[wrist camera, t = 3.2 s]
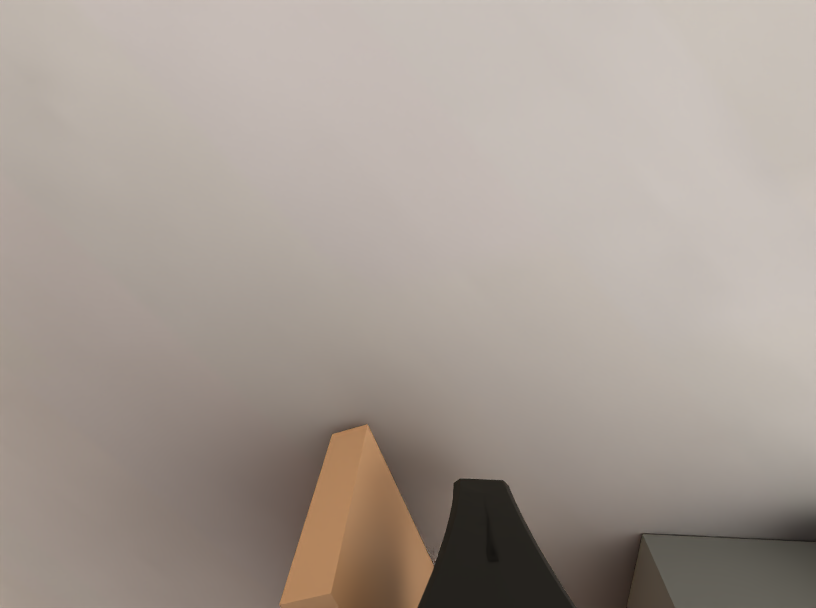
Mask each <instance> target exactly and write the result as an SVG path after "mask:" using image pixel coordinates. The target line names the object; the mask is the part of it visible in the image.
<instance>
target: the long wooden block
mask: <svg viewBox="0 0 816 608" xmlns="http://www.w3.org/2000/svg"><path fill="white" fill-rule="evenodd" d="M433 568H434V565H433V563H432V561H431V559H430V557H429V554H428V552H427V550H426V548H425V546H424V544H423V542H422V539H421V537H420V535H419V533H418V531H417V529H416V527H415V524H414V522H413V520H412V518H411V516H410V514H409V512H408V509H407V507H406V505H405V503H404V501H403V499H402V497H401V494H400V492H399V490H398V488H397V486H396V484H395V482H394V479H393V477H392V475H391V473H390V471H389V469H388V467H387V464H386V462H385V460H384V458H383V456H382V454H381V452H380V449H379V447H378V445H377V443H376V441H375V439H374V437H373V434H372V432H371V430H370V428H369V426H368V424H366V425H363V426H359V427H356V428H352V429H349V430H345V431H342V432H338V433H335V434H332V437H331V440H330V443H329V446H328V450H327V453H326V456H325V459H324V462H323V466H322V469H321V472H320V475H319V478H318V482H317V485H316V488H315V491H314V495H313V498H312V501H311V504H310V507H309V511H308V514H307V517H306V520H305V523H304V527H303V530H302V533H301V536H300V540H299V543H298V546H297V549H296V552H295V556H294V559H293V562H292V565H291V569H290V572H289V575H288V578H287V581H286V585H285V588H284V591H283V594H282V597H281V601H280V604H279V605H280V607H281V608H417V607H418V605H419V602H420V600H421V598H422V595H423V593H424V590H425V588H426V586H427V583H428V581H429V578H430V576H431V574H432V571H433Z"/></svg>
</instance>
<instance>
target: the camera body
mask: <svg viewBox="0 0 816 608" xmlns="http://www.w3.org/2000/svg"><path fill="white" fill-rule="evenodd" d="M627 608H816V542H802V541H780V540H759V539H738V538H716V537H695V536H674V535H652V534H643V535H642V539H641V544H640V548H639V553H638V558H637V562H636V567H635V571H634V576H633V580H632V585H631V590H630V594H629V599H628V603H627Z"/></svg>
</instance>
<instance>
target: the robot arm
mask: <svg viewBox="0 0 816 608" xmlns="http://www.w3.org/2000/svg"><path fill="white" fill-rule="evenodd" d="M417 608H576V606H575V605H574V604H573V602H572V601H571V599H570V598H569V596H568V594H567V593H566V591H565V590H564V588H563V587H562V585H561V583H560V582H559V580H558V579H557V577H556V575H555V574H554V572H553V570H552V569H551V567H550V565H549V564H548V562H547V560H546V559H545V557H544V555H543V554H542V552H541V550H540V548H539V547H538V545H537V543H536V541H535V539H534V538H533V536H532V534H531V532H530V530H529V528H528V526H527V524H526V523H525V521H524V519H523V517H522V515H521V513H520V511H519V508H518V506H517V504H516V502H515V500H514V497H513V495H512V493H511V490H510V488H509V486H508V485H507V484H506V483H505V482H504V481H503V480H483V479H459V480H457V481H456V482H455V483H454V490H453V503H452V508H451V513H450V517H449V521H448V525H447V529H446V533H445V536H444V539H443V542H442V545H441V548H440V551H439V554H438V557H437V560H436V563H435V566H434V568H433V571H432V574H431V576H430V578H429V581H428V583H427V586H426V588H425V590H424V593H423V595H422V598H421V600H420V602H419V605H418V607H417Z"/></svg>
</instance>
